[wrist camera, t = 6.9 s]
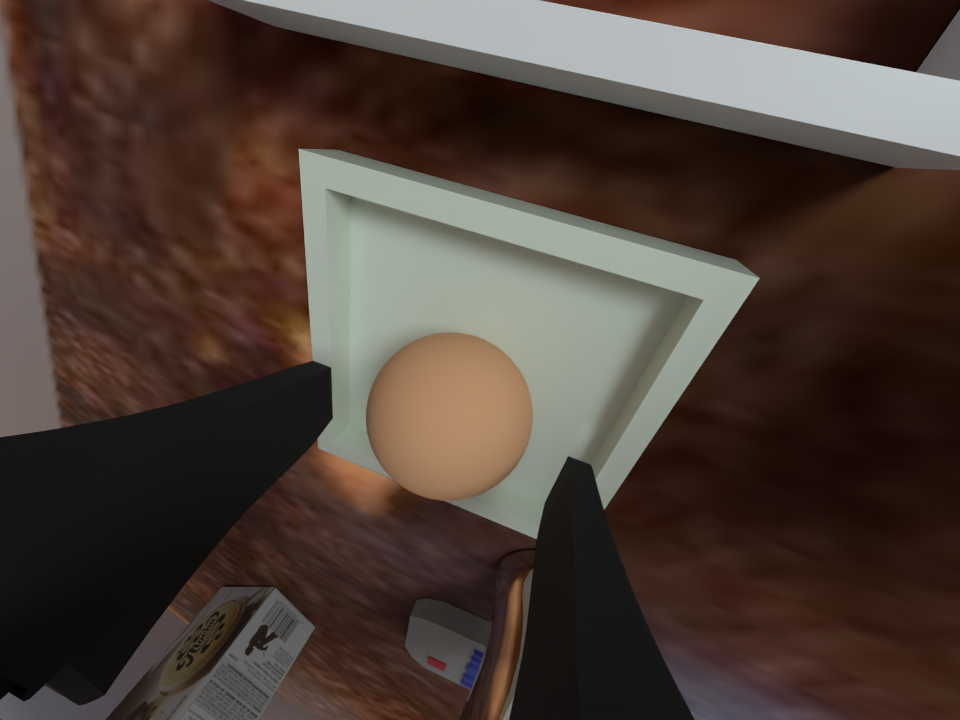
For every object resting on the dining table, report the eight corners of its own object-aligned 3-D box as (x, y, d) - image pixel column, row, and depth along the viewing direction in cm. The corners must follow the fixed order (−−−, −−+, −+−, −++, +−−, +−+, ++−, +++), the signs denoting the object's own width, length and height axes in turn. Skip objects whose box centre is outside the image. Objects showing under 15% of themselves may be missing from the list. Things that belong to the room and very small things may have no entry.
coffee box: (264, 622, 37) (72, 884, 24) (221, 583, 35) (-13, 847, 22) (319, 628, 33) (125, 949, 20) (275, 584, 31) (24, 911, 18)
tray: (337, 149, 11) (298, 148, 10) (736, 259, 9) (759, 278, 8) (341, 425, 18) (318, 448, 16) (576, 518, 16) (574, 554, 14)
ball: (514, 289, 11) (467, 372, 7) (559, 416, 13) (543, 540, 9) (388, 328, 13) (292, 410, 9) (443, 432, 15) (385, 540, 11)
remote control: (704, 764, 25) (712, 812, 23) (412, 631, 28) (399, 664, 26) (775, 737, 21) (792, 794, 19) (421, 583, 24) (406, 619, 22)
